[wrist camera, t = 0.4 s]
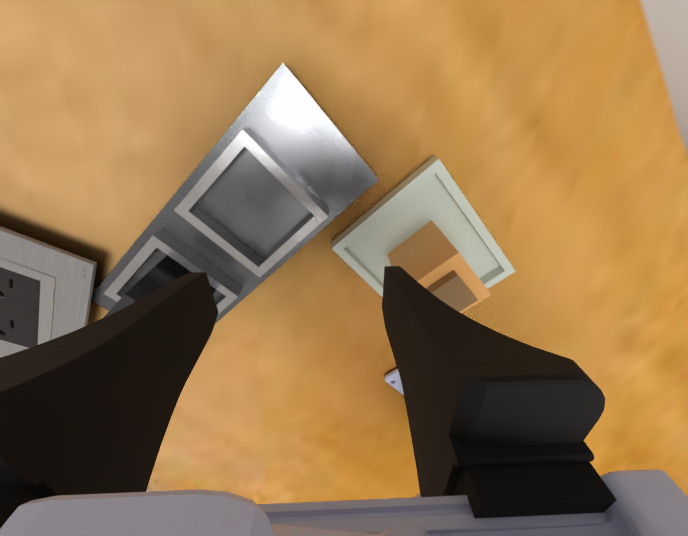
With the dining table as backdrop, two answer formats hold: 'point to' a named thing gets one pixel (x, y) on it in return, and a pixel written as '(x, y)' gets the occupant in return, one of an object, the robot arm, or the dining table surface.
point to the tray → (410, 216)
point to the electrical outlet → (40, 291)
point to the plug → (439, 268)
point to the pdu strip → (247, 201)
